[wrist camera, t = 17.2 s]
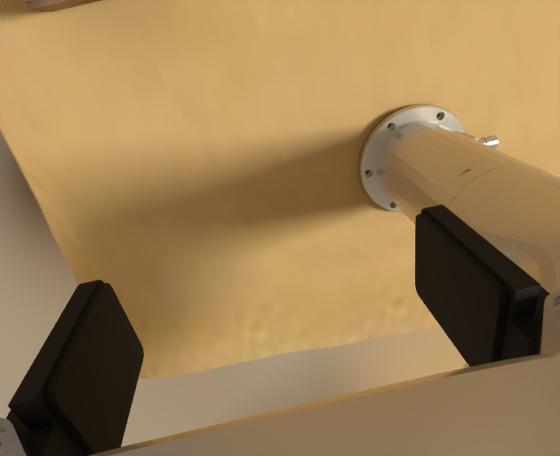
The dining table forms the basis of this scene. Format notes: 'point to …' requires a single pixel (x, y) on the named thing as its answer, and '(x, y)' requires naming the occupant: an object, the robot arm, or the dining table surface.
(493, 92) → the dining table surface
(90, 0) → the walnut base block
